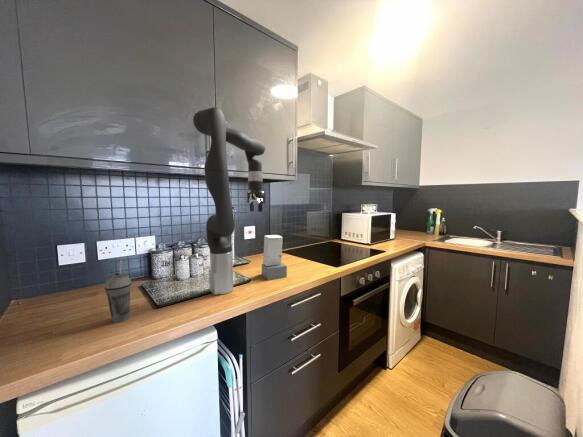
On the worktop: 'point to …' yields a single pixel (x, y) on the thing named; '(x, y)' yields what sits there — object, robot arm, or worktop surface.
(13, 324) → the worktop surface
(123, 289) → the beverage cup
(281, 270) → the charcoal block
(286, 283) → the worktop surface
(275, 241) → the skincare box
